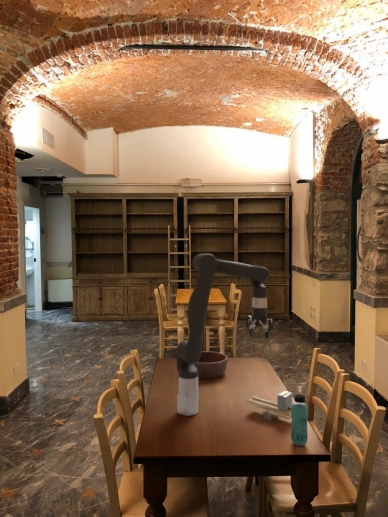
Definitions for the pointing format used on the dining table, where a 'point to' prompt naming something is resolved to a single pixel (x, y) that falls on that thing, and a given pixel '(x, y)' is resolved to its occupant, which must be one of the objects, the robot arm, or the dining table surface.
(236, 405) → the dining table surface
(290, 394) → the block
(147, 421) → the dining table surface
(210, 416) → the dining table surface
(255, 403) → the beam
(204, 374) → the wooden bowl
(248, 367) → the dining table surface
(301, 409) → the beverage bottle
